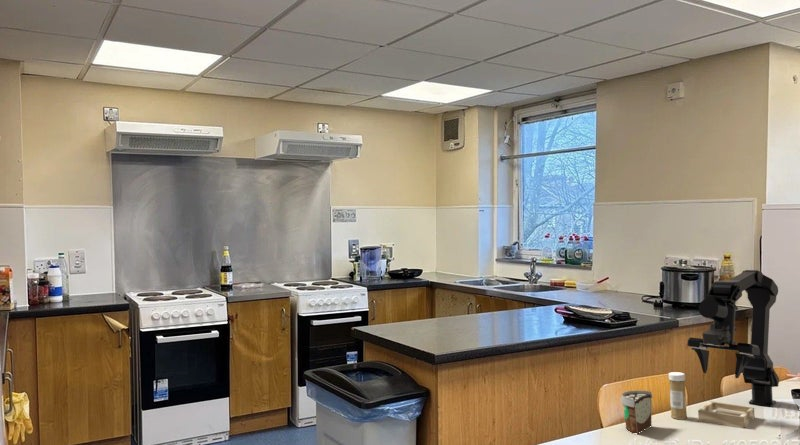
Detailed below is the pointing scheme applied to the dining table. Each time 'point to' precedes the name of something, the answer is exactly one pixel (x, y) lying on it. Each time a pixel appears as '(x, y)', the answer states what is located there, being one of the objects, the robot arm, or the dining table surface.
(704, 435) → the dining table surface
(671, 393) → the sprinkles bottle
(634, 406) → the food container
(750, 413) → the box
